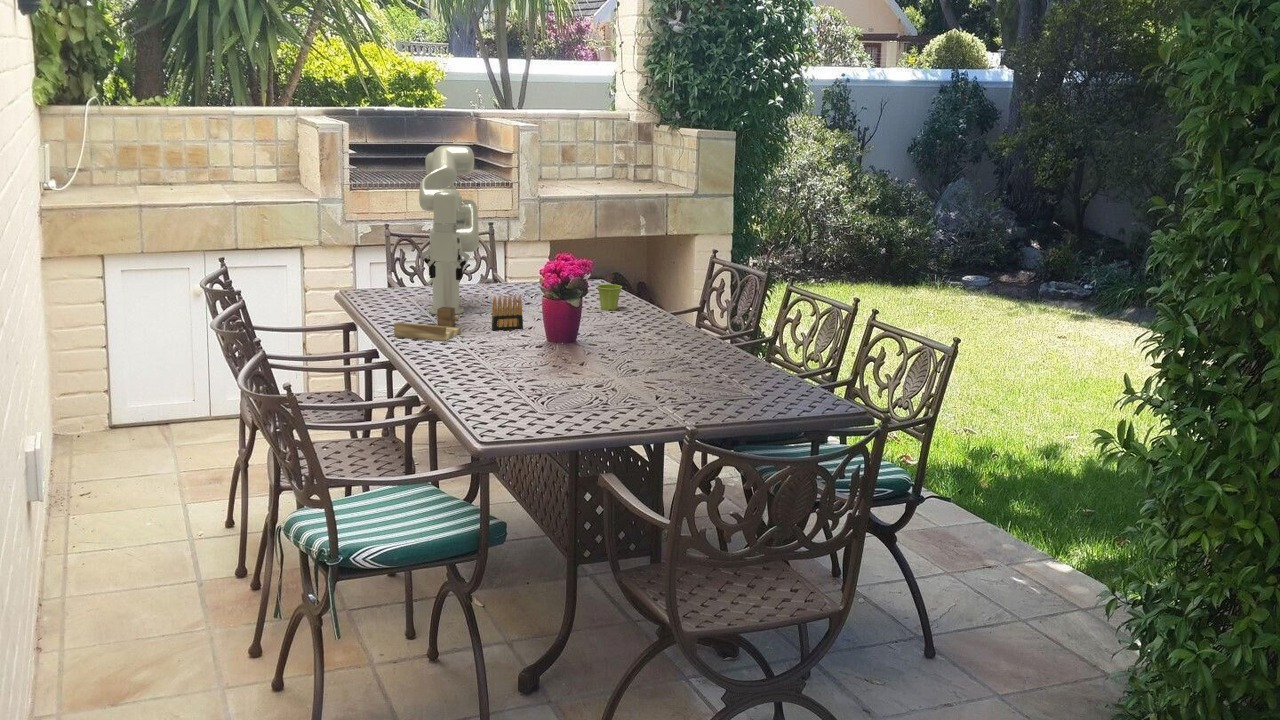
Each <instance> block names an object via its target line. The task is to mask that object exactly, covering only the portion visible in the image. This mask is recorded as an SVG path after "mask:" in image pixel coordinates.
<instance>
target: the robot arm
mask: <svg viewBox="0 0 1280 720" xmlns="http://www.w3.org/2000/svg"><path fill="white" fill-rule="evenodd" d="M424 162H425V163H424V164H425V165H424V166H425V172H426V176H424V178H423V179H422V180H421V182H420V184H419V190H418V191H419V194H418V200H419V201H418V202H419V207H420V208H421V209H422V210H423V211H425V212H433V227H432V228H431V230H430V231H429V237H428V238H429V244H430V246H429V249H426V250H425V251H423V252H422V253H421V254H420V255H421V257H422V259H423V261H424V263H426V265H427V267H428V275H429V278H430V279H432V307H430V308H428V313H430V314H432V315H437V309H439V308H441V307H452V308H455V315H461V314H463V313H464V312H465V309H464V308H463V307H461V306H460V304H462V302H463V298H461V297H460V280H462V278H463V274H464V273H463V270H464V269H463V268H464V267H465V266H466V265H467V264H468V261H469V259H470V257H471V256H470V255H469V253H472V252H476V251H477V250H478V248H479V243H480V241H479V239H480V235H479V234H480V233H479V231H480V230H479V214H478V213H479V212H478V206H477V203H476V202H475V201H474V200H472V199H463V198H462V194H461V193H460V191H459V190H458V189H457V187H456V186H455V182H456V181H457V178H458V176H468V175H471V174H472V173H473V171H474V169H475V154H474V151H473V149H472V148H471V147H470V146H468V145H467V146H466V145H440V146H438V147H436V148H435V149H434V150H433V151H432V152H429V153H428V154H427V155H426V157H425V161H424ZM428 255H429V256H428ZM462 258H463V259H462Z"/></svg>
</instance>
